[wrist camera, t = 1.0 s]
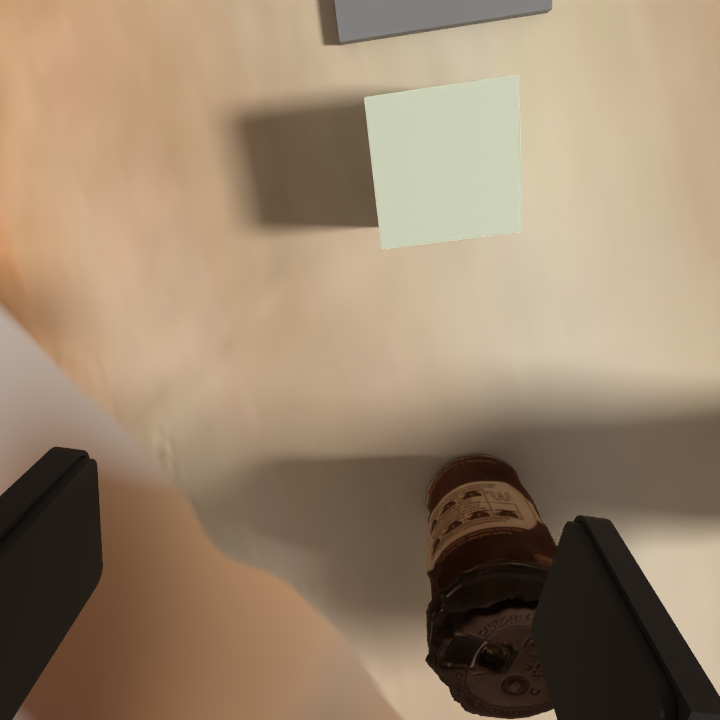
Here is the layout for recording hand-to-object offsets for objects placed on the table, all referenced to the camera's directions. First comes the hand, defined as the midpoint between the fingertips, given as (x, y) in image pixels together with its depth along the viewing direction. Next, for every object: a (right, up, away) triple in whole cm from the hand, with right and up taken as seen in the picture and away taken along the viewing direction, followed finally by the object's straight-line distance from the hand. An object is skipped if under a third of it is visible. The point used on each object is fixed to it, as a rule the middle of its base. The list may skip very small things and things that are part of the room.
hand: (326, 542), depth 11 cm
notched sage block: (+4, +14, +18) cm, 23 cm away
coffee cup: (+8, -5, +26) cm, 27 cm away
